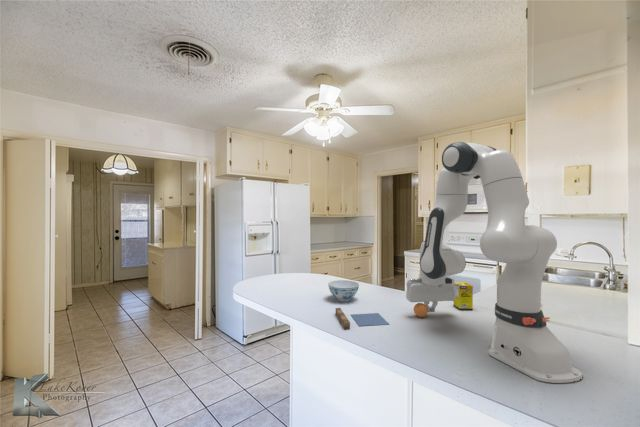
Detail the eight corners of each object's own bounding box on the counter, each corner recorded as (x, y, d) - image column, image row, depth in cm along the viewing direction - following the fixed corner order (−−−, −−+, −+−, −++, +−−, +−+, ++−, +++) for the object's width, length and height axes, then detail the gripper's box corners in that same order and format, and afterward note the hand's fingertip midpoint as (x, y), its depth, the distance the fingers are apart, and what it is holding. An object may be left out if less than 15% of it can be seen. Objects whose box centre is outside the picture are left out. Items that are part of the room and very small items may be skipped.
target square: (389, 324, 110) (389, 324, 110) (358, 326, 108) (358, 325, 108) (378, 313, 122) (378, 313, 122) (350, 314, 120) (350, 314, 120)
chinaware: (358, 295, 148) (358, 280, 148) (359, 305, 133) (359, 288, 133) (329, 294, 149) (329, 279, 149) (327, 303, 134) (327, 287, 134)
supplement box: (473, 310, 126) (473, 285, 126) (459, 310, 126) (459, 285, 126) (466, 306, 132) (466, 282, 132) (453, 305, 132) (453, 282, 132)
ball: (430, 318, 116) (430, 305, 116) (417, 319, 115) (417, 305, 115) (423, 313, 121) (423, 300, 121) (411, 314, 121) (411, 301, 121)
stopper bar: (349, 329, 105) (349, 322, 105) (344, 329, 105) (344, 322, 105) (340, 313, 121) (340, 307, 121) (335, 314, 121) (335, 308, 121)
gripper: (410, 280, 115) (410, 315, 115) (458, 279, 117) (457, 313, 117) (403, 277, 121) (403, 310, 121) (449, 276, 124) (448, 308, 124)
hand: (430, 311), depth 119 cm, fingers closed
